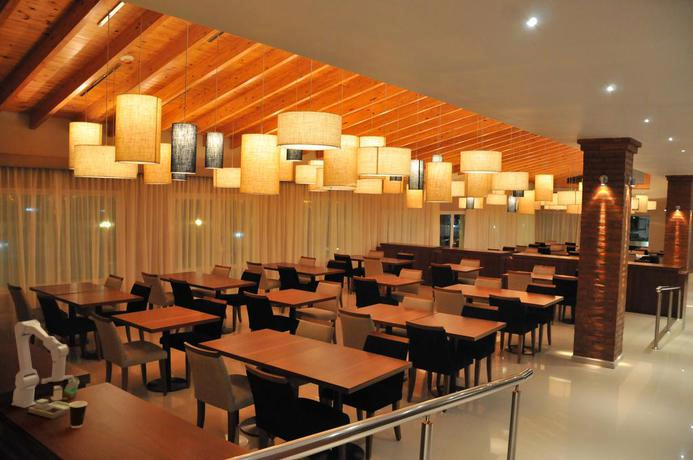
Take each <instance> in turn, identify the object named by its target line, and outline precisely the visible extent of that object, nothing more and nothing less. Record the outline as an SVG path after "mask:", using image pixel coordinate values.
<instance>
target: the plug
mask: <svg viewBox="0 0 693 460" xmlns="http://www.w3.org/2000/svg"><path fill="white" fill-rule="evenodd" d="M62 390H63V388H62V387H61V385H54V391H53V397H51V396H50V399H51V400H52V402H55V401H62V400H61V399H62Z"/></svg>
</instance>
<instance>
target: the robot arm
mask: <svg viewBox="0 0 693 460" xmlns="http://www.w3.org/2000/svg"><path fill="white" fill-rule="evenodd" d="M14 334H15V335H14V336H15V341H16V348H17V349H16V350H17V357H18V364H19V371H18V372H17V373H16V375H15V381H14V384H15V389H14V390H13V396H12V403H10V404H11V405H12V406H16V407H20V408H23V409H24V408H29V407H30V406H31V407H32V406H35V404H36V403H35V402H36V401H35V389H36V387H37V386H38V384H39V382H40V377H39V374H38V372H37V370H36V369H34V368H33V366H32V365H33V363H32V359H31V350H30V343H29V342H30V341H29V339H30V337H31V336H32V335H34V336H36V337H37V338H38V339H40V340H41V341H43V342H42V345H43V346H44V347H45V348H47V350H48V351H50V355H51V360H52V369H51V376H50V377H47V378H41V384H42V385H45V384H46V385H47V387H48V390H49V395H50V398H51V397H53V391H54V386H55V384H54V383H55V382H60V386H61V387H62V388H63V390H62V395H63V393H64V390H65V388H66V386H67V385H68V383H69V381H68V380H73V379H74V377H75V376H74V374H69V375H68V374H65V372H66V361H67V360H66V359H67V356H68V355H69V352H70V348H69V346H68V344H66V343H65V344H63V343H61V342H60V341H59V340H57V338H56V337H55V336H52V335H48V333H47V332H46V331H45V330H44V329H43V328H42V327H41V323H40V322H39V321H38V320H37V319H32V320H26V321H18V322H16V324H15V325H14Z"/></svg>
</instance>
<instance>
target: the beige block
mask: <svg viewBox="0 0 693 460" xmlns="http://www.w3.org/2000/svg"><path fill="white" fill-rule="evenodd" d="M34 402H35V403H36V404H34V406H35V409H39V410H42V409H45V408H48V404H49V399H45V398H41V399H38V400H35V401H34Z"/></svg>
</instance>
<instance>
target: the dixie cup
mask: <svg viewBox="0 0 693 460" xmlns="http://www.w3.org/2000/svg"><path fill="white" fill-rule="evenodd" d="M69 406H70V409H69V418H70V419H69V421H70V428H72V429H79V428H82V426H83V424H84V419H85V414H86V410H87V406H88V402H87V401H84V400H77V401H72V402H70V403H69Z"/></svg>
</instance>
